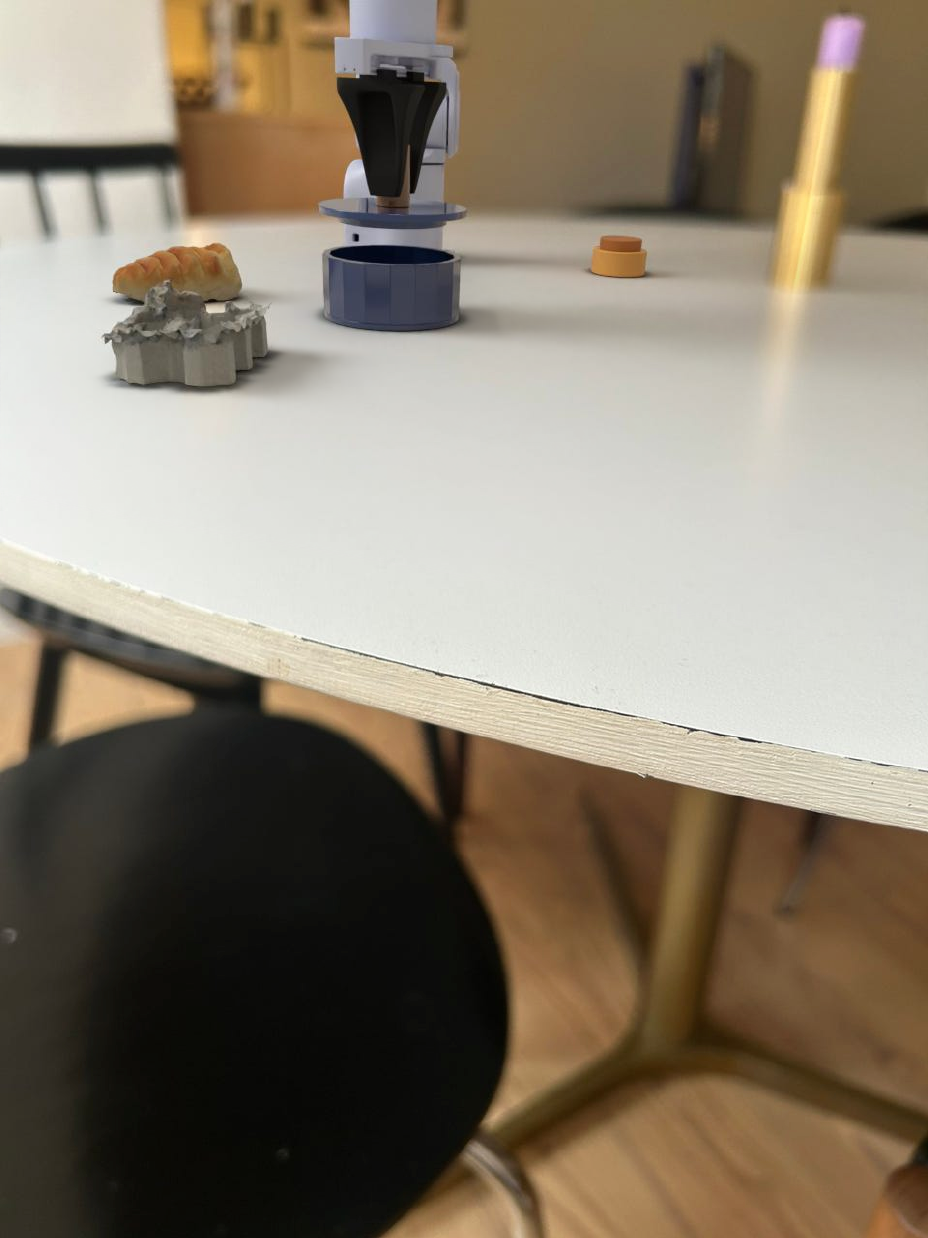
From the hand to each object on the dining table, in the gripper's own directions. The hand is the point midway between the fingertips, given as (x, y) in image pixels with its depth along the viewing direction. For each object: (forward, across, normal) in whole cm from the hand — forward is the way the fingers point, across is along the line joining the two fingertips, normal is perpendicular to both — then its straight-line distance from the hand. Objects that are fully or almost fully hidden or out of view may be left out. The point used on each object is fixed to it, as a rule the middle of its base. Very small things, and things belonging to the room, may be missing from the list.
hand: (392, 194), depth 68 cm
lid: (+1, 0, 0) cm, 1 cm away
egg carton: (+8, -19, +5) cm, 21 cm away
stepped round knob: (+8, +30, -12) cm, 33 cm away
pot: (+8, 0, 0) cm, 8 cm away
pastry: (+9, -1, +17) cm, 19 cm away
